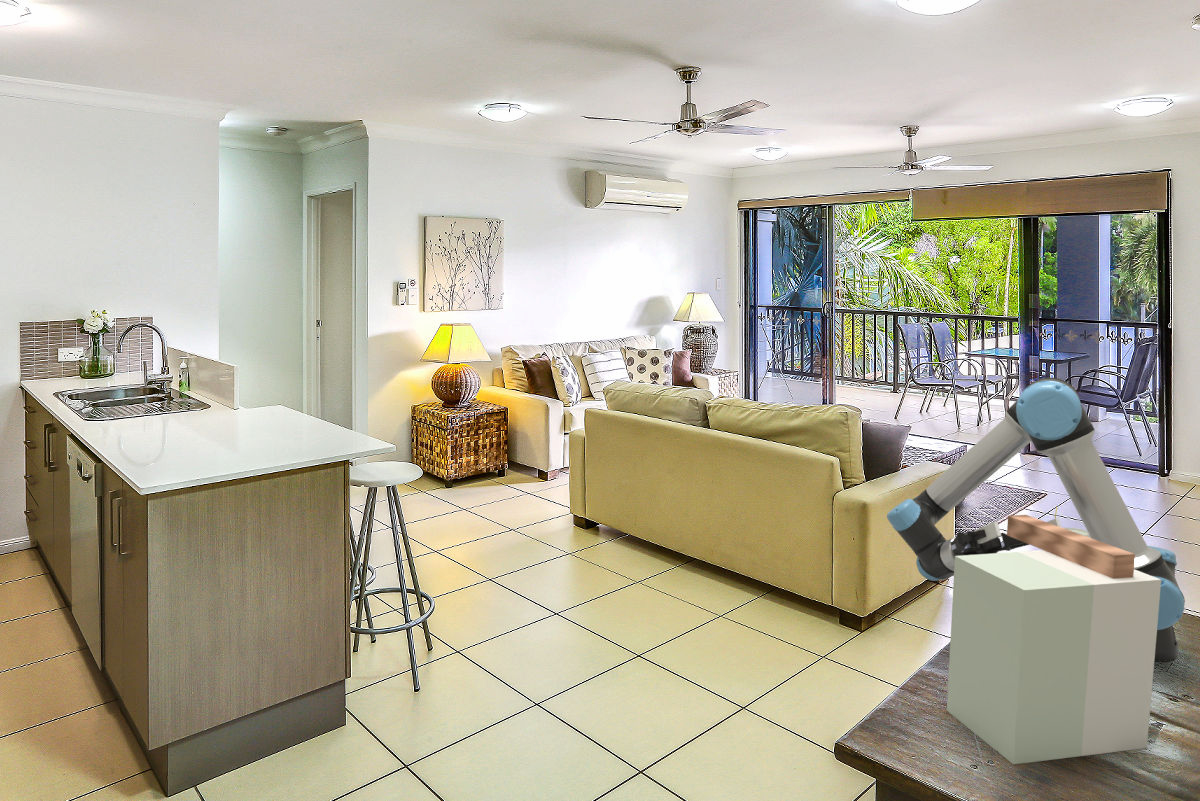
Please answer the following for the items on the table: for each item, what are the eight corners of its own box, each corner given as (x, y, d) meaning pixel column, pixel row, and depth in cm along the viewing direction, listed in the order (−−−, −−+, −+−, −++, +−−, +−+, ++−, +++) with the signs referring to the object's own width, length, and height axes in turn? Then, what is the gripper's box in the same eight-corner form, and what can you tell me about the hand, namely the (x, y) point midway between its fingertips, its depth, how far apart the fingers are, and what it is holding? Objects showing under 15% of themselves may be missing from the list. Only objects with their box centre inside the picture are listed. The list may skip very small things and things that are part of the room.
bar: (1006, 535, 159) (1008, 515, 159) (1024, 534, 160) (1025, 514, 159) (1112, 578, 134) (1114, 555, 133) (1133, 577, 135) (1135, 554, 134)
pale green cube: (946, 710, 149) (954, 556, 146) (1067, 697, 154) (1078, 547, 151) (1013, 764, 132) (1024, 590, 128) (1146, 748, 137) (1161, 579, 133)
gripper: (1022, 565, 175) (1090, 542, 156) (919, 572, 171) (976, 549, 152) (1012, 531, 178) (1078, 505, 159) (910, 538, 174) (965, 511, 155)
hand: (1028, 526), depth 155 cm, fingers open, 13 cm apart
